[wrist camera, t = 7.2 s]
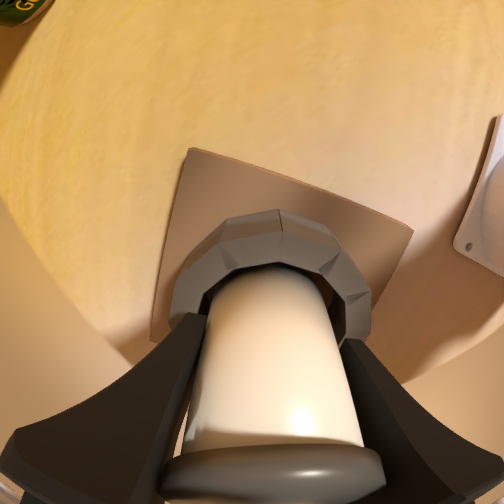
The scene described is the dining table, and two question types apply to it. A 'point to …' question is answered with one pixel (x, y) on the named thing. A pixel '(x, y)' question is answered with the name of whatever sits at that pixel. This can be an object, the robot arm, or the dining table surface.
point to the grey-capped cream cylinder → (271, 402)
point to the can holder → (272, 242)
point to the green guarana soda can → (20, 11)
